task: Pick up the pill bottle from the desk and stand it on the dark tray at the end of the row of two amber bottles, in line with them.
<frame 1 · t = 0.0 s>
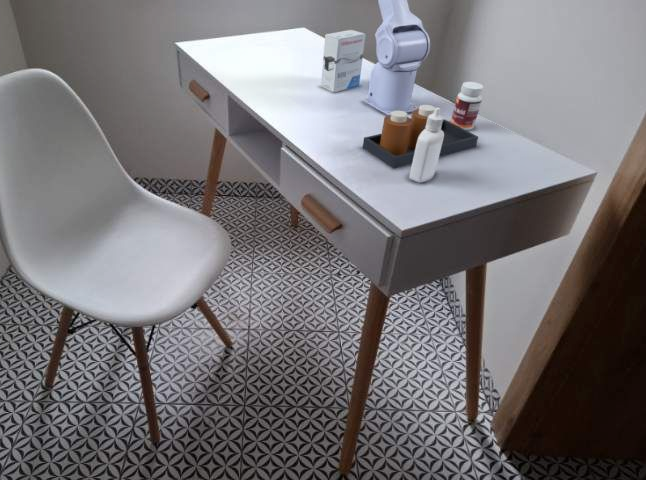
eye dropper bottle: (421, 177, 89), on the table
amber bottle far: (392, 151, 95), point 1 cm above the table, touching tray
pill bottle: (461, 126, 107), on the table
amber bottle middle: (419, 144, 98), point 1 cm above the table, touching tray
tray: (419, 147, 98), on the table
ink box: (339, 87, 123), on the table
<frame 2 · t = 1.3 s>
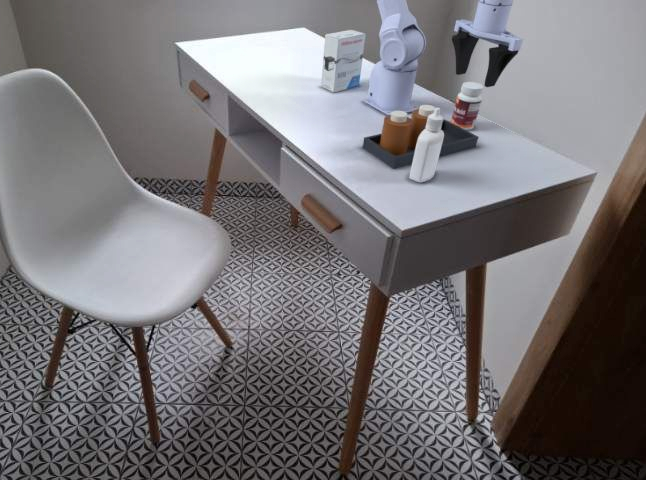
hand: (474, 79, 100), 9 cm above the table, tool pointing down, fingers open, 7 cm apart
nothing on the table moved.
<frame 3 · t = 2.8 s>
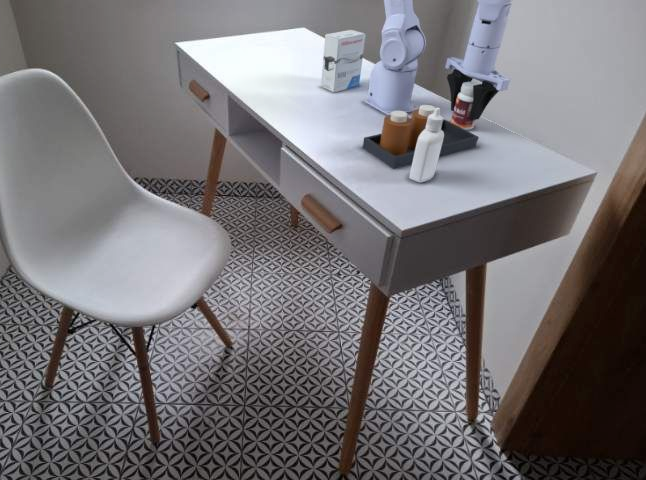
hand: (464, 114, 105), 2 cm above the table, tool pointing down, fingers closed on pill bottle, 5 cm apart
pill bottle: (461, 126, 107), on the table, touching gripper
everything else where it was.
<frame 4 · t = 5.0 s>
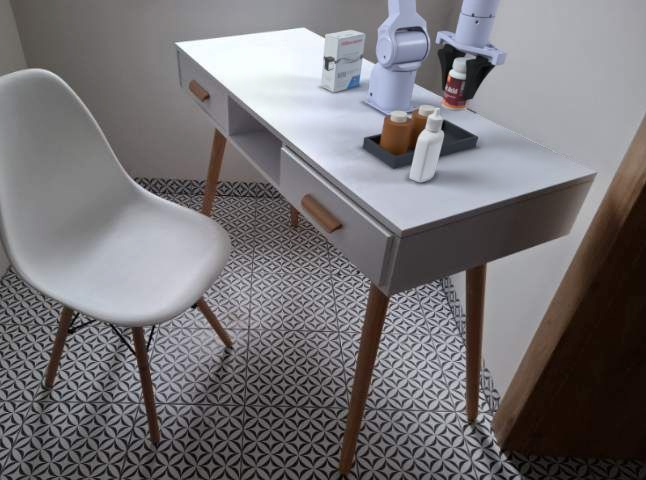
hand: (457, 94, 95), 9 cm above the table, tool pointing down, fingers closed on pill bottle, 5 cm apart
pill bottle: (453, 108, 97), point 6 cm above the table, touching gripper
everything else where it was.
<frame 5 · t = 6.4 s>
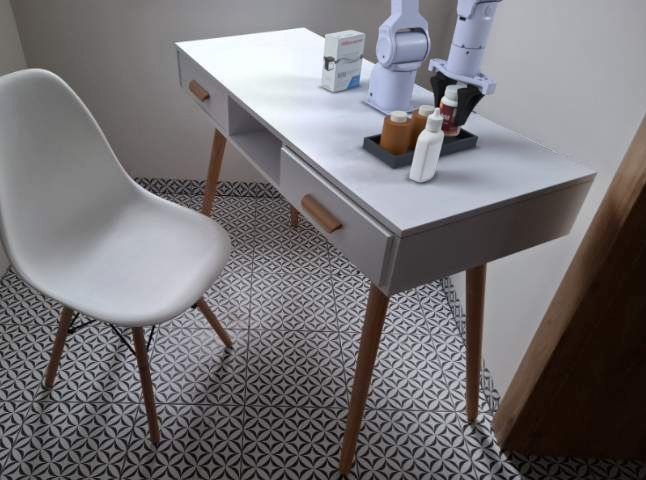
hand: (449, 120, 98), 4 cm above the table, tool pointing down, fingers closed on pill bottle, 5 cm apart
pill bottle: (446, 133, 99), point 2 cm above the table, touching gripper
everything else where it was.
when the fingers open (3 cm above the table, at t = 7.3 s): pill bottle stays where it is, resting on tray.
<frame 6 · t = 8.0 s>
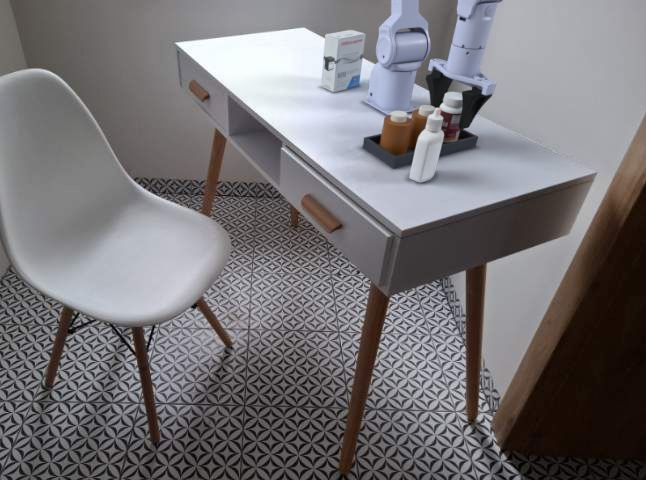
hand: (449, 120, 98), 4 cm above the table, tool pointing down, fingers open, 7 cm apart
pill bottle: (444, 139, 100), resting on tray
everything else where it was.
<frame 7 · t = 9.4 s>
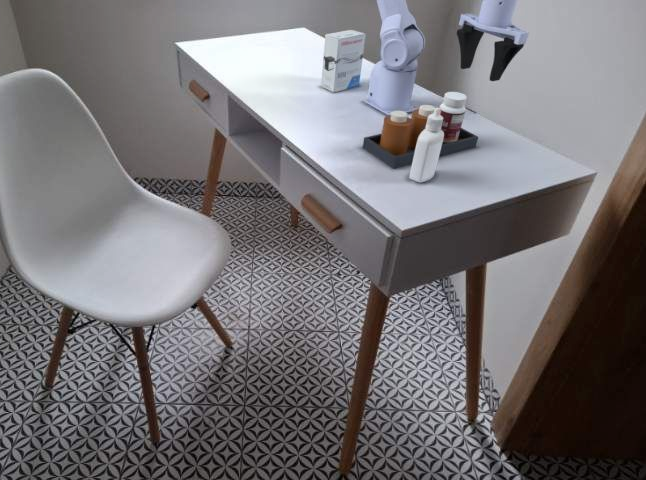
hand: (479, 74, 100), 10 cm above the table, tool pointing down, fingers open, 7 cm apart
nothing on the table moved.
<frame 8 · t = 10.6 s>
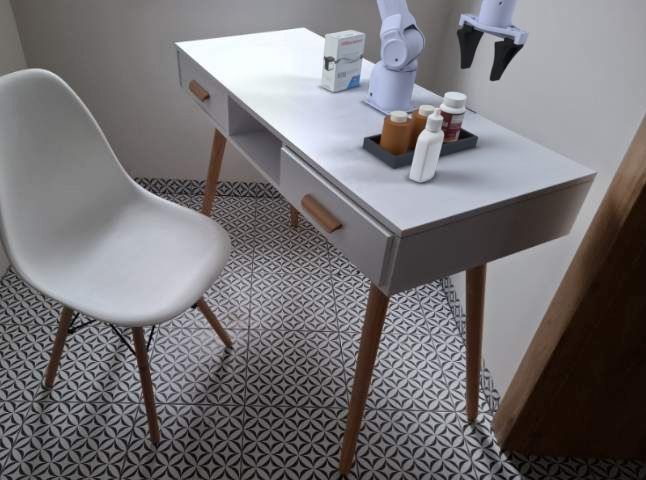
hand: (479, 74, 100), 10 cm above the table, tool pointing down, fingers open, 7 cm apart
nothing on the table moved.
at the end: pill bottle 0.0 cm from the target spot in the tray, point 0.4 cm above the tray's base; pill bottle tilted 0°; amber bottle middle moved 0.0 cm from its start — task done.
